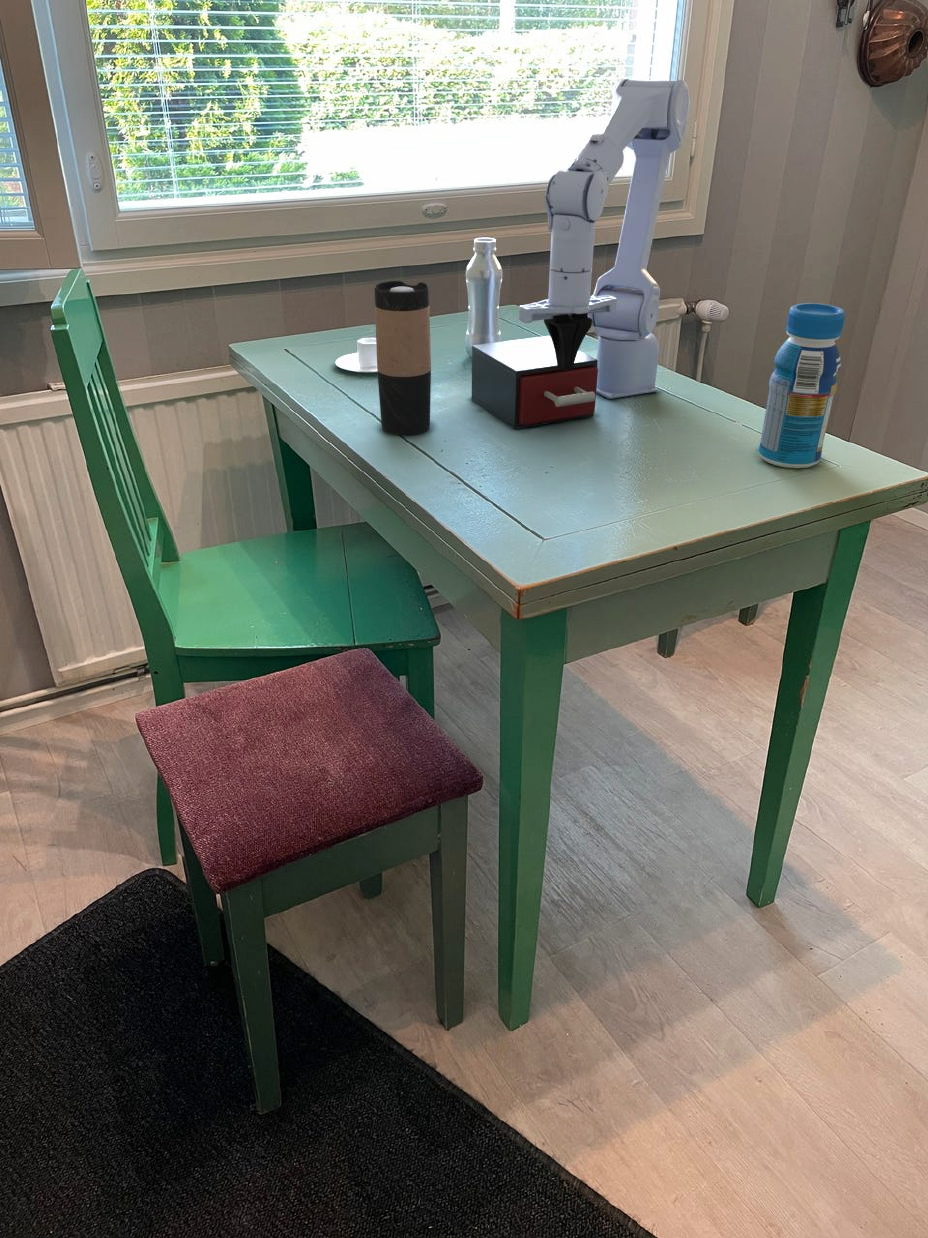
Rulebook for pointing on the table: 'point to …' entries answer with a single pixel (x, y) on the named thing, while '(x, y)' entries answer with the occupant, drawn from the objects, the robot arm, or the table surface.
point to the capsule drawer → (557, 395)
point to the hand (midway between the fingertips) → (564, 368)
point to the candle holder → (361, 357)
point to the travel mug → (403, 356)
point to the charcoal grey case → (514, 374)
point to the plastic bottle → (483, 295)
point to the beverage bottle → (802, 387)
